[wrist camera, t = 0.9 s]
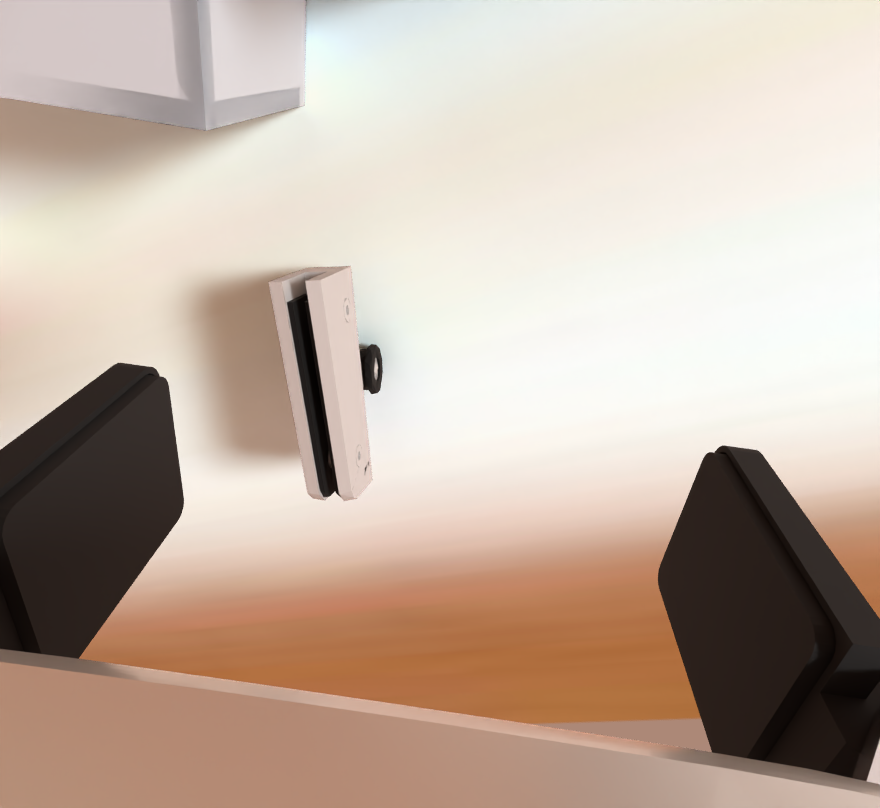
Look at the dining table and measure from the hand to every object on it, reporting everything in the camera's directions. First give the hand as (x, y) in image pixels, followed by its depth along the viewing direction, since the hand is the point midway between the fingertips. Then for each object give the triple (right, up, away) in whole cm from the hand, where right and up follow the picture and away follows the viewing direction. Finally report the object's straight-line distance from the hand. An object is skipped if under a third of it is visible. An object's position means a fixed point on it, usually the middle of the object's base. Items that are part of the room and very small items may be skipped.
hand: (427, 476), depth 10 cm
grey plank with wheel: (-7, +10, +25) cm, 28 cm away
